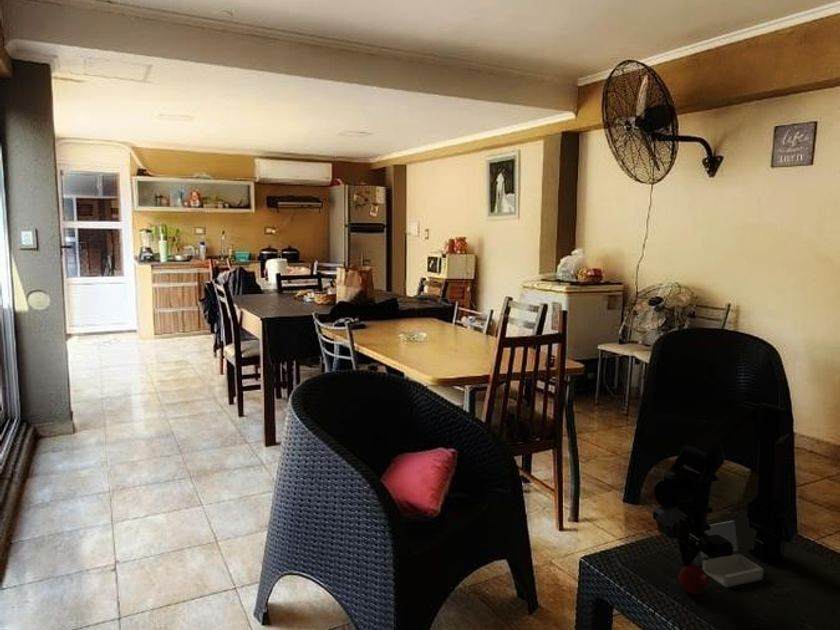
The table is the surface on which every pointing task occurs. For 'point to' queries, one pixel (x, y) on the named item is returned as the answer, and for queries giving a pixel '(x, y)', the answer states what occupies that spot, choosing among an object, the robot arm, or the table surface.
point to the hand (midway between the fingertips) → (686, 565)
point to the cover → (724, 533)
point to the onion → (693, 579)
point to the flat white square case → (730, 569)
